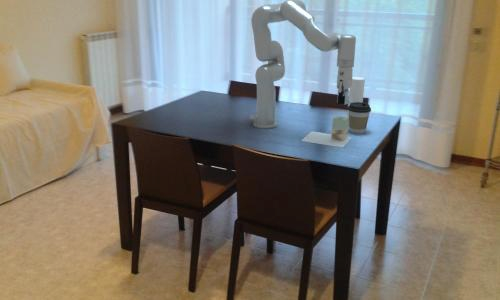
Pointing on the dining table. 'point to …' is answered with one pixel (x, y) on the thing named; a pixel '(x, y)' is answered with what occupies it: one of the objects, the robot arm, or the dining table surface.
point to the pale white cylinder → (345, 96)
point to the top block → (340, 123)
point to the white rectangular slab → (324, 139)
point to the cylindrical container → (356, 91)
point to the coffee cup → (358, 116)
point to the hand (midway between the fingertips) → (342, 102)
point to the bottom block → (339, 134)
